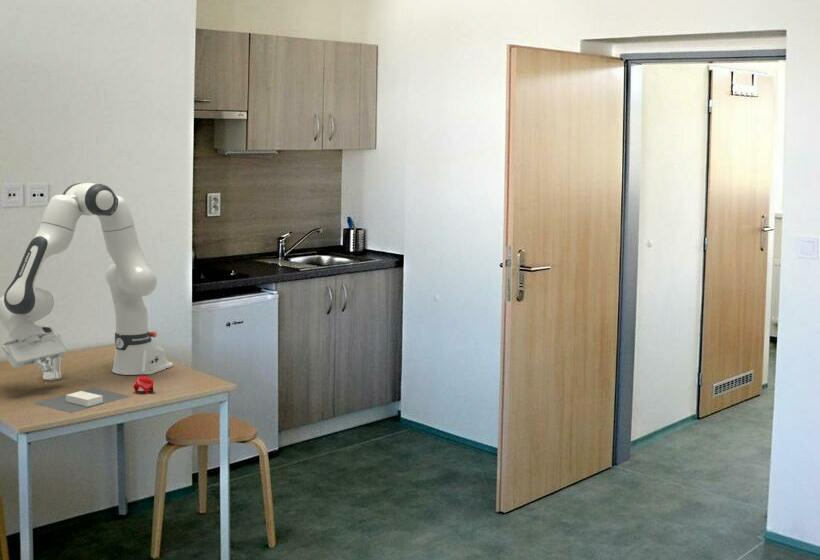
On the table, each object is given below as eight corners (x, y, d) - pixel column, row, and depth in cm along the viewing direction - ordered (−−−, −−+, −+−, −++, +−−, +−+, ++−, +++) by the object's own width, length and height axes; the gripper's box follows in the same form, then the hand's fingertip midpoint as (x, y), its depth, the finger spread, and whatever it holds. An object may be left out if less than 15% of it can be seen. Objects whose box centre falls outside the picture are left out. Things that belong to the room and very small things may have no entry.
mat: (92, 389, 344) (92, 387, 344) (130, 398, 335) (130, 396, 335) (32, 405, 324) (32, 403, 324) (71, 414, 315) (71, 412, 315)
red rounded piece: (146, 388, 336) (157, 375, 340) (131, 380, 337) (141, 368, 341) (147, 402, 341) (158, 390, 345) (132, 395, 343) (143, 383, 347)
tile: (81, 390, 331) (102, 395, 326) (81, 398, 331) (102, 403, 326) (66, 394, 326) (87, 399, 321) (66, 402, 326) (87, 407, 321)
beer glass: (43, 381, 353) (41, 338, 351) (40, 376, 360) (38, 334, 357) (64, 379, 357) (63, 337, 354) (61, 374, 363) (59, 333, 360)
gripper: (4, 337, 328) (25, 371, 324) (56, 326, 345) (77, 359, 342) (-5, 349, 331) (17, 383, 328) (48, 338, 348) (69, 370, 345)
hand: (48, 370), depth 335 cm, fingers closed
